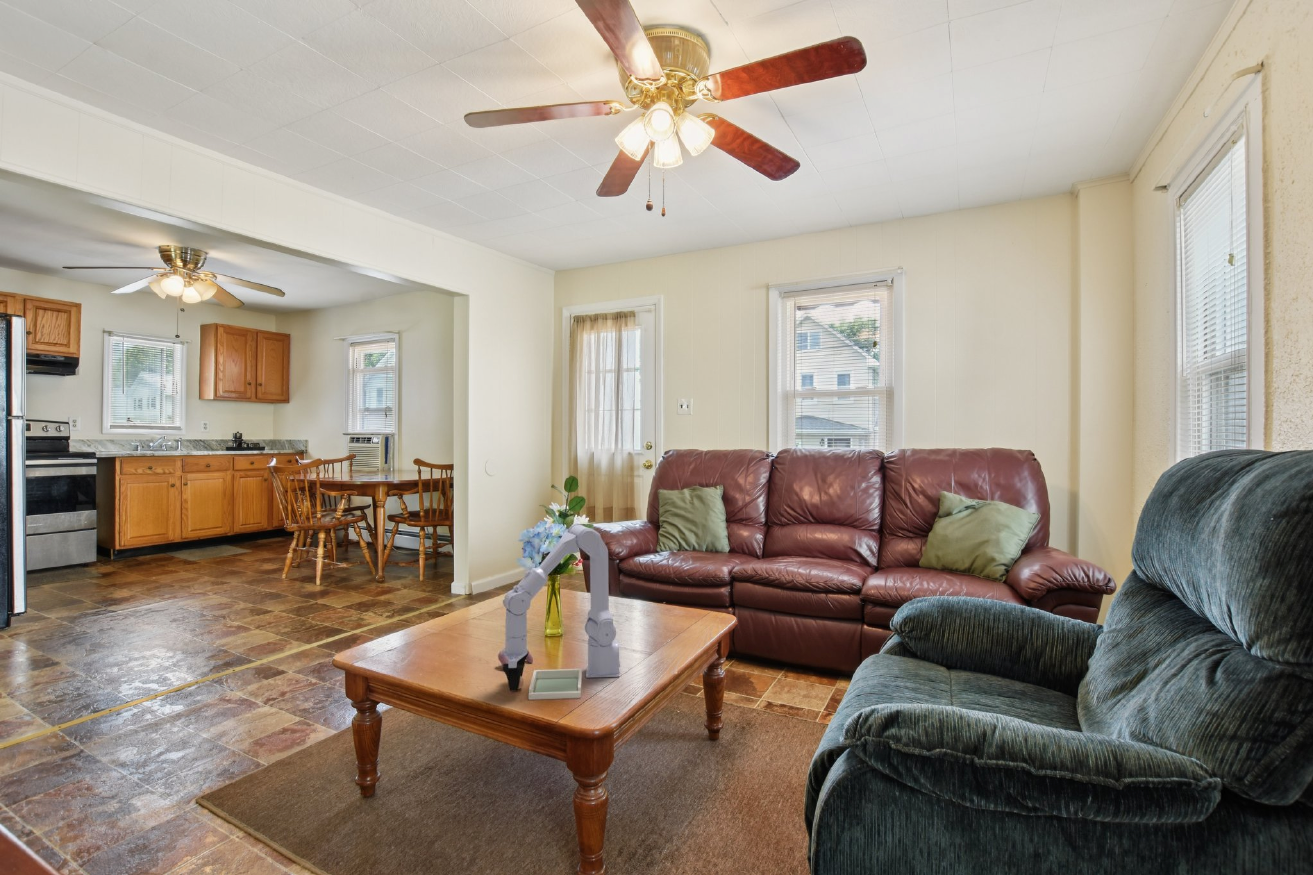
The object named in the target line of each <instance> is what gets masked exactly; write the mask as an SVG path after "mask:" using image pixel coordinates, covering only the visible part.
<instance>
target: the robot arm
mask: <svg viewBox="0 0 1313 875" xmlns="http://www.w3.org/2000/svg"><path fill="white" fill-rule="evenodd" d="M580 549H581V550H582V551H583V552H584V553H585V554H587V555H588V556H589V574H590V575H589V578H590V579H589V582H590V584H589V585H590V586H589V587H590V589H589V590H590V592H589V593H590V609H589V610H588V612H587V620H586V621H585V623H584V624H585V625H584V631H585V633H586V635H588V638H587V665H586V668H585V669H586V673H585V677H586V679H587V678H615V677H616V678H618V677H620V668H621V661H620V642H619V641H614V640H615V639H616V636H617V630H616V629H617V628H616V627H615V625H614V618H613V616H612V613H611V611H610V609H609V608H610V607H609V606H610V604H609V602H610V600H609V599H610V598H609V596H610V594H609V592H610V591H609V587H610V586H609V549H608V547H607V545H606V544H605V542H604V540H603V539H602V535H601V534H600V533H599V532H598V531H597V530H595V529H593V528H591V527H586V526H584V525H582V524H580V523H576V524H575V523H574V524H572V525H571V526H570V527H568V529H567V531H565V532H564V533H563V534H562V535H561V537H560V539H559V540H558V542H557V543H556V545H555V546H554V547H553V548H552V550H550V552H549V553H548V555H547V556H546V557H545V558H544V560H543V561H542V562H541V563H540V565H539V566H538V567H533V568H531V569H530V570H526V571H525V572H524V576H523V578H522V579H521V580H520V581H519V583H518V584H517V585H516V584H515V585H514V586H513V587H512V588H513V589H512V590H509V591H508V592H506V593H505V595H504V599H502V604H503V606H504V608H505V642H504V643H505V648H504V649H505V650H503V649H501V651H500V652H501V655H505V656H506V658H507V659H508V661H509V664H503V666H502V670H503V672H504V674H505V676H506V679H507V685H508V688H509V691H510V692H513V691H516V692H517V691H518V690H519V689H518V688H519V683H520V676H522V677H523V674H524V673H523V672H524V668H525V663H526V658H527V656H528V653H530V651H529V650H528V647H527V644H528V639H527V638H528V617H527V615H528V613H527V611H529V610H530V607H531V601H532V600H533V599H534V598H535V597H536V596H537V594H538V593H539V592H540V591H541V590H542V589H543V588H544V587H545V585H546V584H547V583H548V575H549V574H550V573H551V572H552V571H553V570H554V569H555V568H556V567H557V566H558V565H559V564H560V563H561V562H562V561H563V560H564V558H566V556H568V555H572V554H576V553H580ZM527 650H528V651H527Z"/></svg>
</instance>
